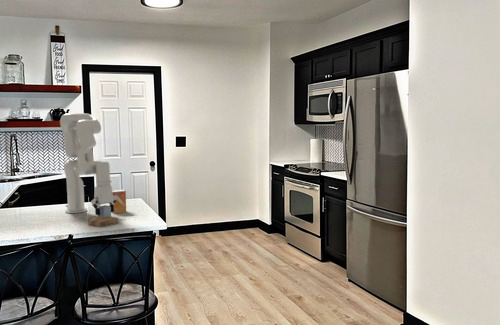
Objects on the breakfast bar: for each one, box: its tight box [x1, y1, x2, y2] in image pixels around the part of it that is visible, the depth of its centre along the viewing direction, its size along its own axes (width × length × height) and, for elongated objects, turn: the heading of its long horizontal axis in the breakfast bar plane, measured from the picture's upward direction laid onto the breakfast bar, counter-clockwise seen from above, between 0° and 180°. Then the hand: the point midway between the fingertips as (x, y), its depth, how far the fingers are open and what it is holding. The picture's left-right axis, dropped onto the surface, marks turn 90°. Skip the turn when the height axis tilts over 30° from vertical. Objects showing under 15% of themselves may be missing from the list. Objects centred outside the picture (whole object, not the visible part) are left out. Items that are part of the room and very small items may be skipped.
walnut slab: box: [87, 216, 119, 228], centre depth 248 cm, size 11×11×3 cm
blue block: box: [97, 204, 112, 217], centre depth 262 cm, size 5×5×7 cm
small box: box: [111, 189, 127, 214], centre depth 280 cm, size 8×6×13 cm
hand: (104, 213), depth 262 cm, fingers open, 9 cm apart
